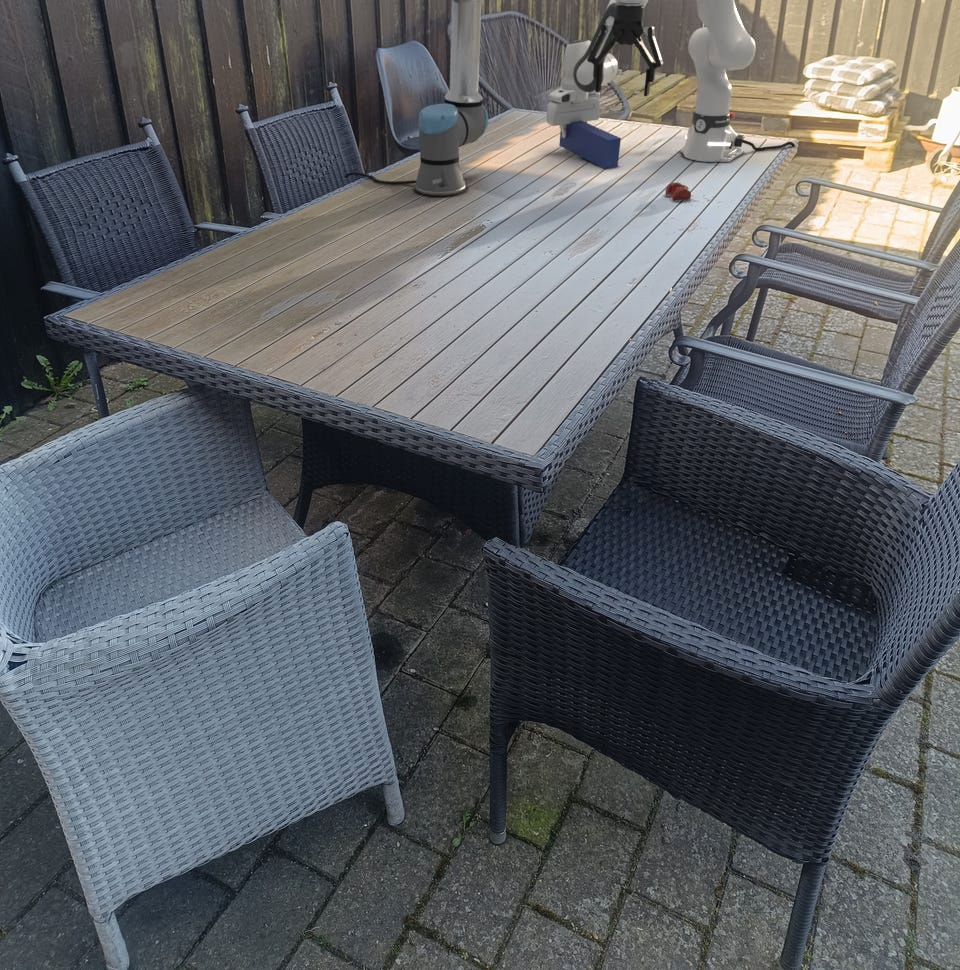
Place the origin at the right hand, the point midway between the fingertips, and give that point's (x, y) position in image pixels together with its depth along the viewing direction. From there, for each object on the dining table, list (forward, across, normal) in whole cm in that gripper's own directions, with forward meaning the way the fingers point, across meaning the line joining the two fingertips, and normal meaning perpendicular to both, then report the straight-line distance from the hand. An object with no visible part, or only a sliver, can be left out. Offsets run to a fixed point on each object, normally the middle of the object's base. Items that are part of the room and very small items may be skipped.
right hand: (572, 136), depth 292 cm
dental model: (+5, +2, +60) cm, 60 cm away
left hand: (-25, +22, +55) cm, 64 cm away
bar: (+4, 0, +10) cm, 11 cm away
